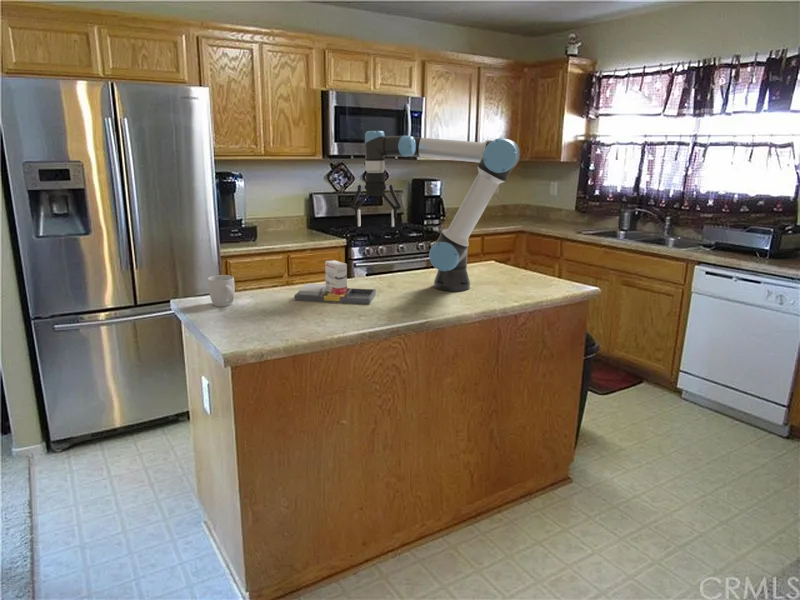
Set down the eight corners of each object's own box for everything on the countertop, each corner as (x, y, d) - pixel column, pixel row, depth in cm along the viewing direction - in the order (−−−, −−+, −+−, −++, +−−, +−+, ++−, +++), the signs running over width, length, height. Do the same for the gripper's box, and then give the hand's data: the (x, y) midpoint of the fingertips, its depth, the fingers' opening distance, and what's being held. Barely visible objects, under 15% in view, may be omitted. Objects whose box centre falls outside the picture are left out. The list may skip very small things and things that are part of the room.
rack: (375, 294, 218) (375, 289, 218) (369, 304, 205) (369, 298, 204) (305, 291, 221) (305, 285, 221) (294, 300, 208) (294, 294, 207)
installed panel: (325, 291, 219) (325, 284, 218) (318, 299, 208) (318, 291, 207) (307, 290, 220) (307, 283, 219) (299, 298, 209) (298, 290, 208)
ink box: (347, 293, 211) (347, 263, 208) (336, 295, 208) (336, 264, 205) (335, 289, 217) (335, 259, 214) (324, 290, 214) (324, 261, 211)
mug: (205, 303, 201) (203, 277, 199) (229, 299, 207) (227, 273, 205) (221, 311, 192) (219, 284, 190) (244, 307, 198) (243, 280, 195)
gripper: (407, 171, 218) (407, 225, 224) (345, 171, 220) (347, 224, 226) (406, 172, 211) (406, 227, 217) (342, 172, 213) (343, 227, 218)
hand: (376, 226), depth 221 cm, fingers open, 13 cm apart
